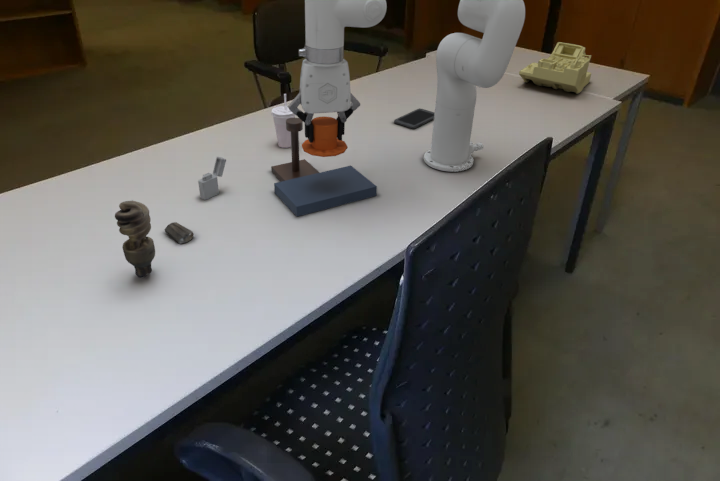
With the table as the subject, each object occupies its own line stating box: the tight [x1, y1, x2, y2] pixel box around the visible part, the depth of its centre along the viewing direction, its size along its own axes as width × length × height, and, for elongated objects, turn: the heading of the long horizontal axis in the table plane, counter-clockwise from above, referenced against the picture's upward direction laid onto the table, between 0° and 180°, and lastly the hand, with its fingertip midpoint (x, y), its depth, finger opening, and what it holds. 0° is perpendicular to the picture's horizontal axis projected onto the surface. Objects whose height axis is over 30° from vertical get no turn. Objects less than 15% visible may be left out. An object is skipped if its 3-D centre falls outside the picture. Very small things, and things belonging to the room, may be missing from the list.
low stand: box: [273, 165, 378, 217], centre depth 132 cm, size 20×12×2 cm, turn 120°
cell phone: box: [393, 107, 435, 130], centre depth 172 cm, size 7×14×1 cm, turn 141°
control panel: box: [518, 41, 593, 95], centre depth 199 cm, size 24×16×20 cm
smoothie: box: [271, 93, 296, 149], centre depth 151 cm, size 6×6×14 cm
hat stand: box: [270, 117, 321, 182], centre depth 136 cm, size 9×9×14 cm
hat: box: [301, 116, 348, 158], centre depth 124 cm, size 10×10×6 cm
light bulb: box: [114, 200, 156, 279], centre depth 101 cm, size 6×6×15 cm
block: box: [164, 221, 194, 244], centre depth 116 cm, size 4×6×2 cm, turn 52°
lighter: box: [197, 156, 227, 201], centre depth 129 cm, size 7×2×8 cm, turn 142°
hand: (324, 138), depth 125 cm, fingers closed on hat, 5 cm apart
